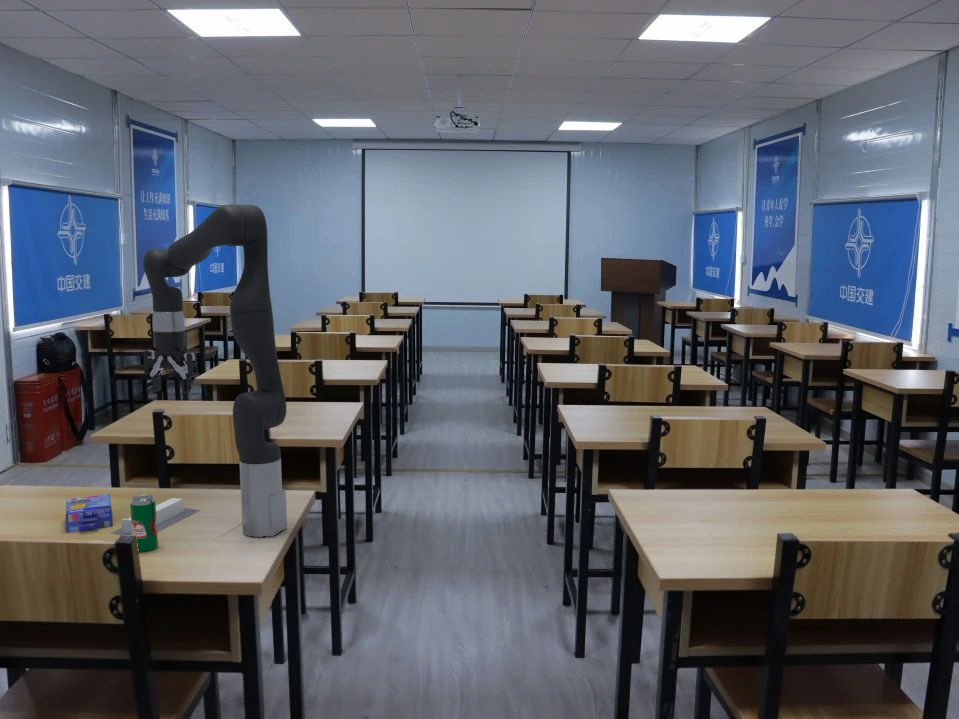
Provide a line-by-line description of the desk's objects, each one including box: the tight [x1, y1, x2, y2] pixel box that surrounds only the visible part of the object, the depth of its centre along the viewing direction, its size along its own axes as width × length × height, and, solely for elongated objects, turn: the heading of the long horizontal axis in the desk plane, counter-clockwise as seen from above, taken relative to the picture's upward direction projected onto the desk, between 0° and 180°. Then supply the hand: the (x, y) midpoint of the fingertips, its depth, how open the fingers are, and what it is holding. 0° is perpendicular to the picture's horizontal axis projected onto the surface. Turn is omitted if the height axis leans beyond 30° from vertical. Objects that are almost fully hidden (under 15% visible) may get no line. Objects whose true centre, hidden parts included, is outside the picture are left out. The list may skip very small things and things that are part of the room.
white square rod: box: [121, 497, 185, 534], centre depth 190 cm, size 5×17×3 cm, turn 163°
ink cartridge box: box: [65, 493, 114, 534], centre depth 189 cm, size 10×6×14 cm
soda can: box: [129, 494, 159, 553], centre depth 173 cm, size 5×5×12 cm
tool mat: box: [109, 507, 201, 536], centre depth 190 cm, size 10×20×1 cm, turn 163°
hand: (171, 392), depth 203 cm, fingers open, 8 cm apart
